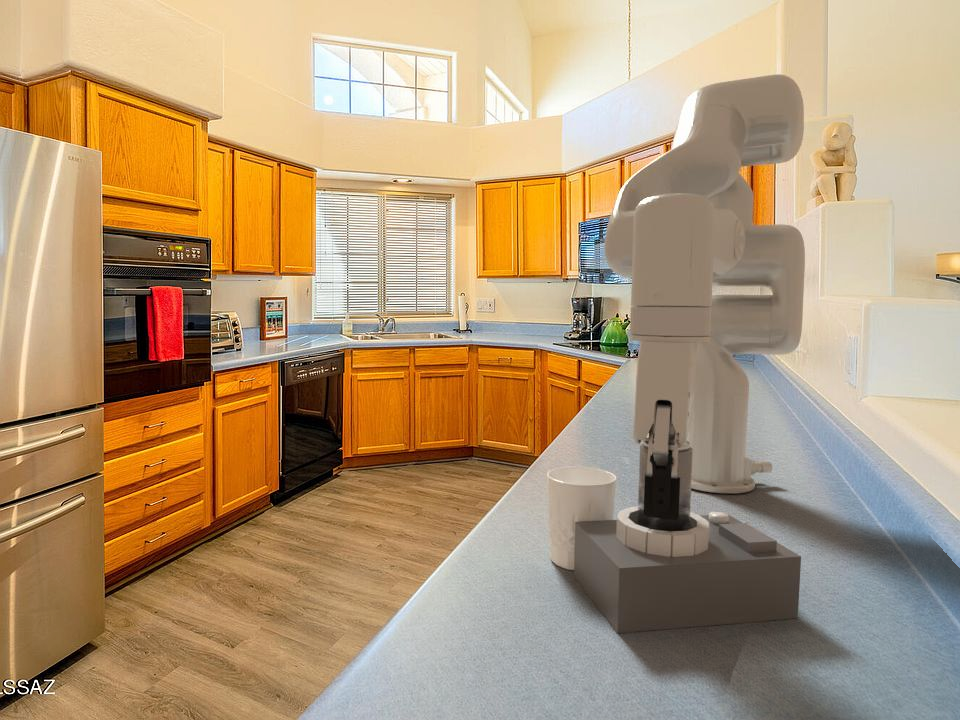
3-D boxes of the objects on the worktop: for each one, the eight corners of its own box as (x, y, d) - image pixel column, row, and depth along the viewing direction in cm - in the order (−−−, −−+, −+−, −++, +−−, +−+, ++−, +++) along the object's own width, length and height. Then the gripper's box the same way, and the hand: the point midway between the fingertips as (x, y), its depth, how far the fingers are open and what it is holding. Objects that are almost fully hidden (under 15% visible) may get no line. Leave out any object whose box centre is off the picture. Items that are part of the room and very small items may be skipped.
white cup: (599, 580, 65) (601, 489, 64) (533, 564, 69) (535, 477, 68) (623, 556, 72) (626, 472, 71) (562, 542, 76) (564, 463, 75)
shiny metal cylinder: (639, 518, 64) (642, 434, 63) (690, 525, 62) (693, 438, 62) (634, 535, 60) (637, 444, 59) (688, 542, 58) (692, 449, 57)
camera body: (725, 565, 69) (728, 496, 69) (797, 618, 57) (802, 535, 57) (573, 575, 66) (575, 503, 66) (617, 633, 54) (620, 546, 54)
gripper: (639, 323, 69) (634, 482, 70) (618, 327, 53) (612, 532, 54) (710, 325, 66) (703, 489, 67) (711, 329, 50) (702, 544, 52)
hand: (663, 506), depth 61 cm, fingers closed on shiny metal cylinder, 5 cm apart
